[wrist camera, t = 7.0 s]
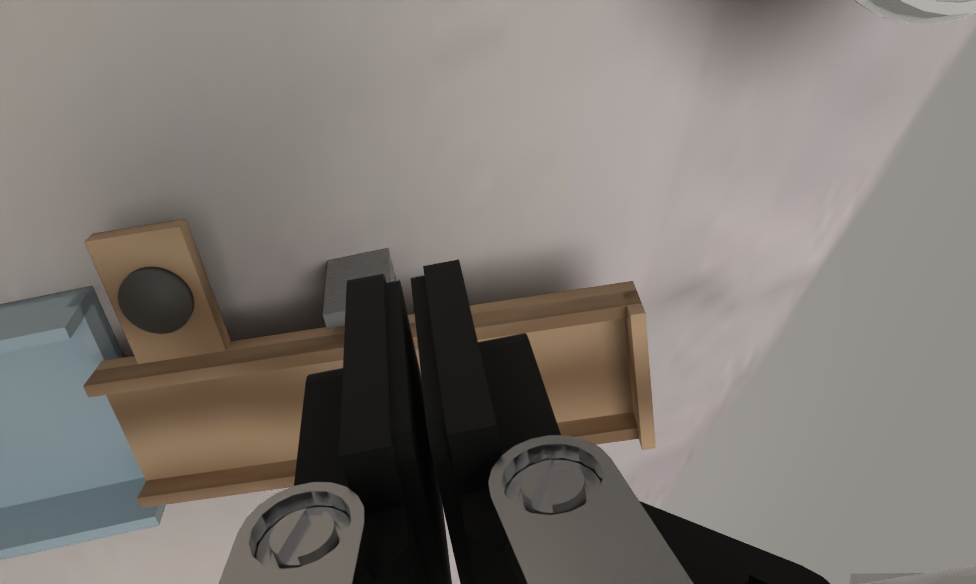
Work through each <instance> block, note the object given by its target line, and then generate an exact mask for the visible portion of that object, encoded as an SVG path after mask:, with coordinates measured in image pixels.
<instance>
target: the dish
mask: <svg viewBox="0 0 976 584" xmlns="http://www.w3.org/2000/svg"><path fill="white" fill-rule="evenodd" d="M117 358H124V356H123V354H122V352H121V349H120V347H119V345H118V343H117V340H116V338H115V336H114V334H113V331H112V329H111V327H110V325H109V323H108V320H107V318H106V316H105V314H104V311H103V309H102V307H101V305H100V302H99V300H98V298H97V296H96V293H95V291H94V289H93V287H92V286H90V287H85V288H80V289H75V290H70V291H65V292H60V293H55V294H50V295H45V296H41V297H36V298H31V299H26V300H21V301H16V302H11V303H6V304H1V305H0V560H3V559H7V558H12V557H17V556H21V555H26V554H30V553H35V552H39V551H44V550H49V549H53V548H58V547H62V546H67V545H71V544H76V543H81V542H85V541H90V540H94V539H99V538H103V537H108V536H113V535H117V534H122V533H126V532H131V531H135V530H140V529H144V528H149V527H154V526H158V525H159V524H160V521H161V518H162V514H163V511H164V508H165V505H166V504H165V505H157V506H150V507H143V508H142V507H141V505H140V503H139V501H138V499H137V497H138V495H139V494H140V492H141V490H142V488H143V486H144V484H145V482H146V479H145V477H144V475H143V473H142V471H141V468H140V466H139V464H138V462H137V460H136V458H135V456H134V454H133V451H132V449H131V447H130V445H129V443H128V441H127V439H126V437H125V434H124V432H123V430H122V428H121V426H120V424H119V422H118V420H117V417H116V415H115V413H114V411H113V409H112V407H111V405H110V403H109V400H108V398H107V396H106V395H103V396H96V397H89V398H88V396H87V394H86V392H85V390H84V387H83V386H84V384H85V383H86V382H87V380H88V379H89V377H90V376H91V375H92V373H93V372H94V371H95V369H96V368H97V367H98V365H99V364H100V363H101V361H104V360H110V359H117Z"/></svg>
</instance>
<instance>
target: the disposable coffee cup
mask: <svg viewBox="0 0 976 584" xmlns="http://www.w3.org/2000/svg"><path fill="white" fill-rule="evenodd" d="M855 1H856V2H857V3H859V4H860V5H862V6H863V7H865V8H867V9H868V10H870V11H872V12H873V13H875V14H877V15H878V16H881V17H883V18H887V19H890V20H894V21H897V22H901V23H904V24H921V25H933V24H939V23H946V22H952V21H956V20H959V19H962V18H965V17H968V16H971V15H973V14H976V0H855Z"/></svg>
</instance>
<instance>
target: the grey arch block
mask: <svg viewBox="0 0 976 584" xmlns="http://www.w3.org/2000/svg"><path fill="white" fill-rule="evenodd" d="M379 274H384V276H385V279H386V282H387V283H388V282H393V281H396V278H395V274H394V269H393V265H392V261H391V257H390V253H389V249H388V248H387V249H382V250H377V251H372V252H367V253H362V254H357V255H353V256H348V257H343V258H338V259H333V260H328V263H327V274H326V285H325V296H324V307H323V318H324V321H325V324H326V328H327V329H330V328H335V327H340V326H345V309H346V286H347V280H352V279H357V278H363V277H368V276H373V275H379Z"/></svg>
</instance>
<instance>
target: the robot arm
mask: <svg viewBox="0 0 976 584" xmlns="http://www.w3.org/2000/svg"><path fill="white" fill-rule="evenodd" d="M423 268H424V276H420V277H415V278H411V286H412V295H413V304H414V314H415V323H416V332H417V342H418V351H419V360H420V368H419V364H418V359H417V355H416V350H415V346H414V341H413V337H412V332H411V328H410V323H409V319H408V314H407V310H406V305H405V300H404V296H403V291H402V287H401V283H400V280H399V281H393V282H388V283H387V282H386V279H385V276H384V274H379V275H373V276H368V277H363V278H357V279H352V280H347V286H346V309H345V332H344V355H343V368H340V369H335V370H329V371H324V372H319V373H314V374H309V375H308V376H307V378H306V383H305V391H304V400H303V409H302V418H301V427H300V436H299V445H298V453H297V462H296V471H295V480H294V486H293V487H291V488H288V489H286V490H284V491H281V492H279V493H276V494H275V495H273V496H272V497H270V498H269V499H267V500H266V501H264V502H263V503H261V504H260V505H259V506H258V507H257V508H256V509H255V510H254V511H253V512H252V513H251V514H250V515H249V516H248V517H247V518H246V519H245V521H244V523H243V525H242V526H241V528H240V530H239V532H238V533H237V536H236V539H235V541H234V544H233V547H232V549H231V552H230V555H229V557H228V560H227V563H226V565H225V568H224V571H223V573H222V576H221V579H220V581H219V584H452V581H451V572H450V564H449V555H448V547H447V539H446V530H445V522H444V513H445V517H446V522H447V526H448V530H449V535H450V539H451V544H452V548H453V553H454V557H455V561H456V566H457V570H458V575H459V579H460V583H461V584H830V583H829V582H828V581H827V580H826V579H824V578H823V577H822V576H820V575H818V574H816V573H814V572H813V571H811V570H809V569H807V568H805V567H803V566H801V565H799V564H796V563H794V562H791V561H789V560H786V559H783V558H781V557H778V556H776V555H774V554H771V553H769V552H766V551H764V550H761V549H759V548H756V547H753V546H751V545H749V544H746V543H744V542H741V541H738V540H736V539H733V538H731V537H728V536H726V535H723V534H721V533H718V532H716V531H713V530H711V529H708V528H706V527H703V526H701V525H698V524H696V523H693V522H691V521H688V520H686V519H683V518H681V517H678V516H676V515H673V514H671V513H668V512H666V511H663V510H661V509H658V508H655V507H653V506H650V505H648V504H645V503H643V502H640V501H639V500H638V499H637V497H636V496H635V494H634V493H633V491H632V490H631V488H630V487H629V485H628V484H627V482H626V480H625V479H624V477H623V476H622V474H621V473H620V471H619V470H618V468H617V467H616V465H615V464H614V462H613V461H612V459H611V458H610V457H609V456H608V455H607V454H606V453H605V452H604V451H603V450H602V449H601V448H600V447H598V446H596V445H595V444H593V443H591V442H589V441H587V440H584V439H580V438H576V437H572V436H562V435H561V433H560V430H559V427H558V424H557V421H556V418H555V415H554V412H553V409H552V406H551V404H550V401H549V398H548V395H547V392H546V389H545V386H544V383H543V380H542V377H541V374H540V371H539V368H538V365H537V362H536V359H535V356H534V353H533V350H532V347H531V344H530V341H529V338H528V336H527V334H526V333H522V334H517V335H512V336H507V337H502V338H496V339H491V340H486V341H481V342H478V340H477V336H476V332H475V327H474V323H473V319H472V314H471V310H470V306H469V301H468V297H467V293H466V288H465V284H464V280H463V275H462V271H461V267H460V262H459V260H454V261H449V262H443V263H438V264H433V265H427V266H423ZM420 370H421V373H420ZM442 504H443V505H442ZM443 508H444V513H443ZM849 584H976V565H973V566H968V567H961V568H955V569H949V570H943V571H937V572H931V573H881V574H850V582H849Z"/></svg>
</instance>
